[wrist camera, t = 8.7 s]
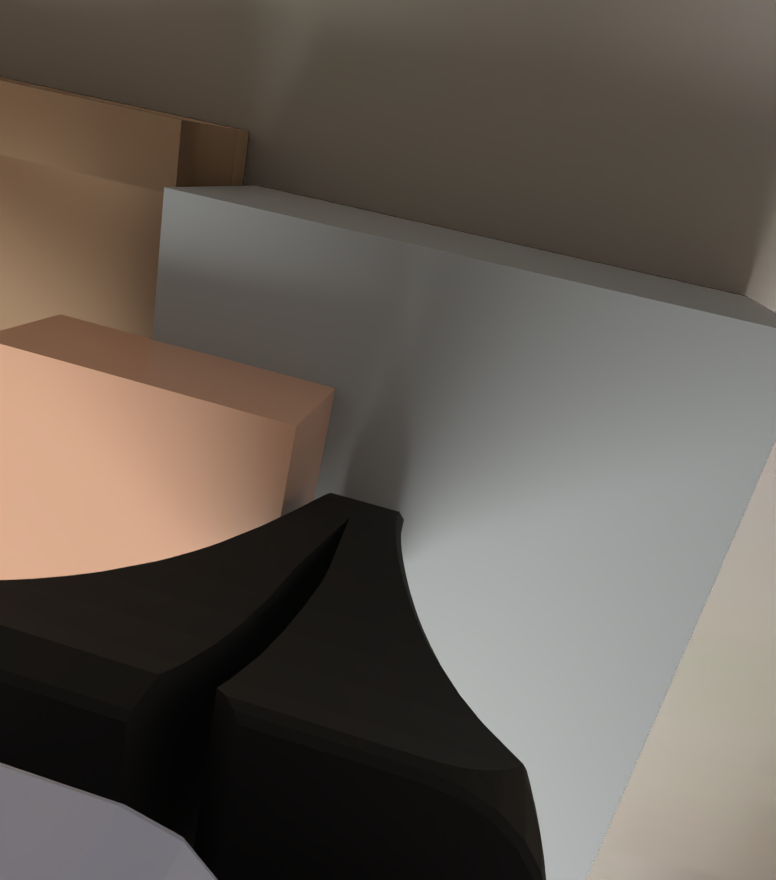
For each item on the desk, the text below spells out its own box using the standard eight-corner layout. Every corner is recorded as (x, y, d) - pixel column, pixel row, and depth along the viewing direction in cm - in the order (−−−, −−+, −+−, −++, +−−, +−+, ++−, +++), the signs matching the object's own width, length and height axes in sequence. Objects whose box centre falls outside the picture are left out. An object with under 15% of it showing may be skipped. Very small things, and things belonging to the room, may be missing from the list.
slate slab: (525, 871, 20) (521, 1029, 16) (184, 760, 21) (108, 884, 17) (745, 296, 14) (819, 338, 10) (256, 185, 15) (164, 187, 11)
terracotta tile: (287, 634, 14) (248, 704, 12) (51, 559, 14) (-23, 615, 13) (335, 388, 12) (296, 425, 10) (60, 314, 13) (-24, 336, 11)
